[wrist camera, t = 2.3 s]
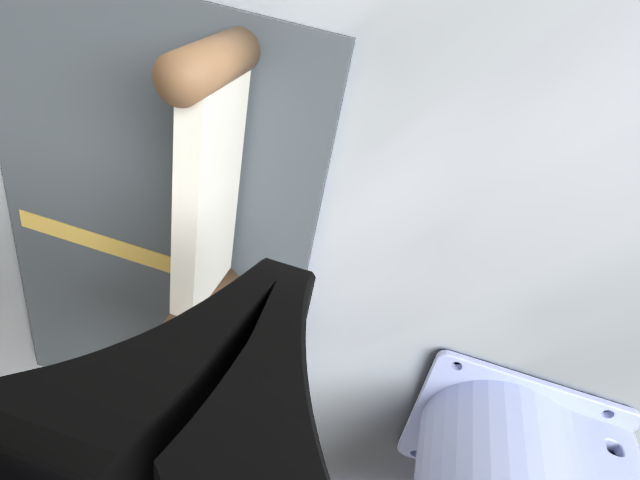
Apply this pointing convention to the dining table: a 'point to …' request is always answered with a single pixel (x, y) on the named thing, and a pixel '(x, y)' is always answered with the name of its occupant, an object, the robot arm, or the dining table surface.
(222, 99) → the hinged fence panel
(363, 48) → the dining table surface
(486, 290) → the dining table surface
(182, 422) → the robot arm
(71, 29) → the card
